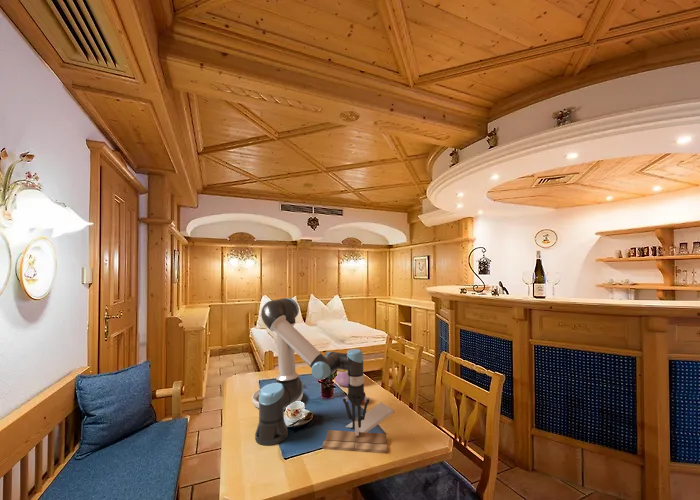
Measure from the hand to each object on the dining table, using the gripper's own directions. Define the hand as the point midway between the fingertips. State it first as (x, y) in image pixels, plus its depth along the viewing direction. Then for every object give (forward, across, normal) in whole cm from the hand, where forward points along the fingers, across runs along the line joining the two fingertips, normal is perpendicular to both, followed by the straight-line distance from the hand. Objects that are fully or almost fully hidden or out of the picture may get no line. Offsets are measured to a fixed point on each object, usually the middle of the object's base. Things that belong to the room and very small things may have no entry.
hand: (357, 434), depth 149 cm
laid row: (+3, 0, -7) cm, 7 cm away
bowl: (+3, -52, +36) cm, 63 cm away
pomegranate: (+3, -4, +40) cm, 40 cm away
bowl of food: (+4, -15, +68) cm, 69 cm away
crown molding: (+4, +5, +21) cm, 22 cm away
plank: (+2, 0, -1) cm, 2 cm away
